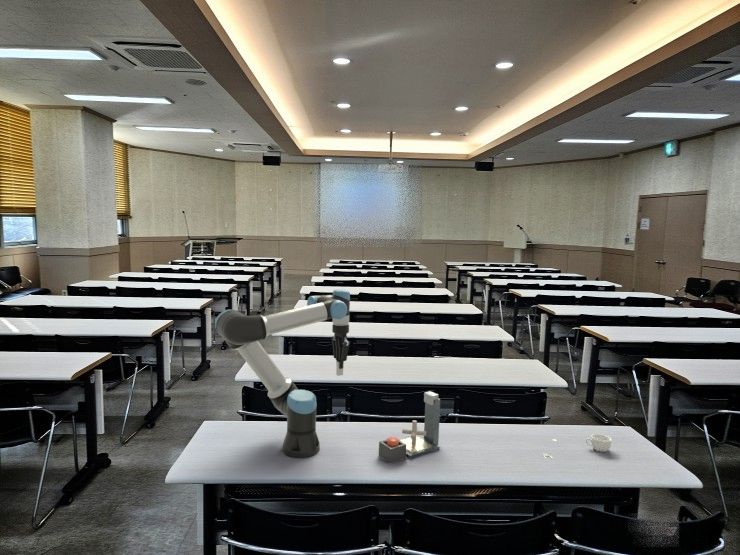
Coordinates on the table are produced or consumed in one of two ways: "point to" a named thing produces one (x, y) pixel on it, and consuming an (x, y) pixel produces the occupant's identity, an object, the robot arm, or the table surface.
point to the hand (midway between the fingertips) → (339, 374)
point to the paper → (547, 454)
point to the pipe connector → (414, 432)
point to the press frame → (426, 429)
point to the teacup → (600, 442)
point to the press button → (392, 442)
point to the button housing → (392, 452)
